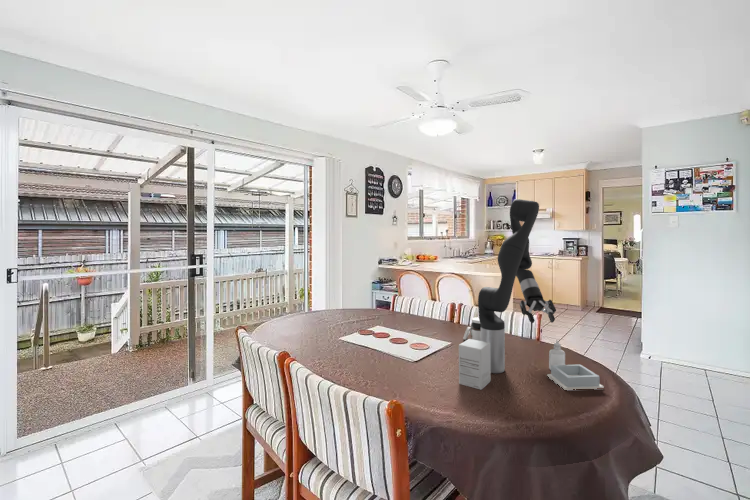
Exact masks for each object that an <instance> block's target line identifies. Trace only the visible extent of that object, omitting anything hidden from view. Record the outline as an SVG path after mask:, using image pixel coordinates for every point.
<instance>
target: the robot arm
mask: <svg viewBox="0 0 750 500" xmlns="http://www.w3.org/2000/svg"><path fill="white" fill-rule="evenodd" d="M539 212H540V204H539V203H538V202H537V201H536V200H535V201H534V200H529V199H521V198H517V199H516V198H515V199H514V200H513V201H512V202H511V204H510V207H509V220H510V226H511V228H510V229H511V232H512V234H511V235H510V236H508V237H507V238H506V239H505V240H503V242H502V243H501V245H500V249H499V251H498V254H497V262H498V263H497V264H498V267H499V270H500V274H501V279H500V283H499V287H498V288H497V287H490V286H484V287H482V288H481V289H480V290H479V293H478V296H477V305H478V309H477V310H478V317H479V320H480V324H481V341H483V342H489V343H490V366H491V374H501V373H503V372H505V369H506V368H505V366H506V365H505V362H506V361H505V354H506V353H505V342H506V340H505V337H506V334H505V332H506V331H505V328H506V325H505V321H504V320H503V319H502V318H501V317H500V316H498V315H497V314H496V313H504V312H505V311H506V310H507V308H508V307H509V305H510V301H511V297H512V293H513V288H514V284H515V279H516V278H517V280H518V283H519V285H520V290H521V293H522V295H523V299H522V300H521V301H520V303H519V307H520V311H521V313H522V314H521V315H523V316H527V317H528V320H529V321H528V322H530V323H531V324H534V323H535V318H534V315H533V313H532V312H533V311H534V312H537V311H539V312H541V311H542V312H543V313H545V314H546V315H547V316H548V319H549V321H550V323H554V322H555V320H556V317H555V316H554V314H555V313H556V312H557V309H556V307H555V305H554V302H553V300H552V299H549V300H545V299H544V297H543V294H542V291H541V289H540V287H539V284H538V281H537V280H536V278H535V276H534V273H533V271H531V270H530V268H532V266H533V262H532V261H533V260H532V258H531V255H530V238H529V237H530V234H531V232H532V229H533V227H534V226H535V222H536V220H537V217H538V214H539ZM521 222H523V224H521ZM526 306H527V307H528V308H529V309H528V310H527V308H526ZM495 312H496V313H495Z"/></svg>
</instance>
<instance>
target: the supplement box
mask: <svg viewBox="0 0 750 500" xmlns="http://www.w3.org/2000/svg"><path fill="white" fill-rule="evenodd" d="M491 374H492V373H491V366H490V343H489V342H483V341H478V340H473V339H471V338H467V339H466V340H465V341H463V342H461V343H459V344H458V384H459V385H463V386H466V387H470V388H473V389H477V390H481V391H482V390H483V389H484V388H485V387H486V386H487V385H488V384H489V383H490V382H491Z"/></svg>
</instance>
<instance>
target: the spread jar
mask: <svg viewBox="0 0 750 500" xmlns="http://www.w3.org/2000/svg"><path fill="white" fill-rule="evenodd" d="M471 318H472V319H471V323H470V326H467V327H466V329H465V332H464V334H463V340H465V341H466V340H468V338H469V336H470V339H473V340H478V341H481V324H480V320H479V316H477V317H471Z"/></svg>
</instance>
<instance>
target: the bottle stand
mask: <svg viewBox="0 0 750 500" xmlns="http://www.w3.org/2000/svg"><path fill="white" fill-rule="evenodd" d="M547 376H548V377H549V378H548V377H547ZM546 377H547V378H548V379H550V380H551V381H552V380H553V381H554V382H553V381H552V382H553V383H555V385H557V384H558V385H559V386H560V388H561V387H562V388H563V389H564V390H567V391H577V390H576V389H594V390H598V389H597V388H604V387H605V386H604V385H603V384H601V383H600V375H599V374H597V373H595V372H594V371H592V370H590V369H589V368H587V367H585V366H584V365H582V364H579V363H577V364H565V365H551V370H550V373H547V375H546ZM558 385H557V386H558ZM559 386H558V387H559ZM562 388H561V389H562ZM563 389H562V390H563ZM573 389H575V390H573ZM564 390H563V391H564Z"/></svg>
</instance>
